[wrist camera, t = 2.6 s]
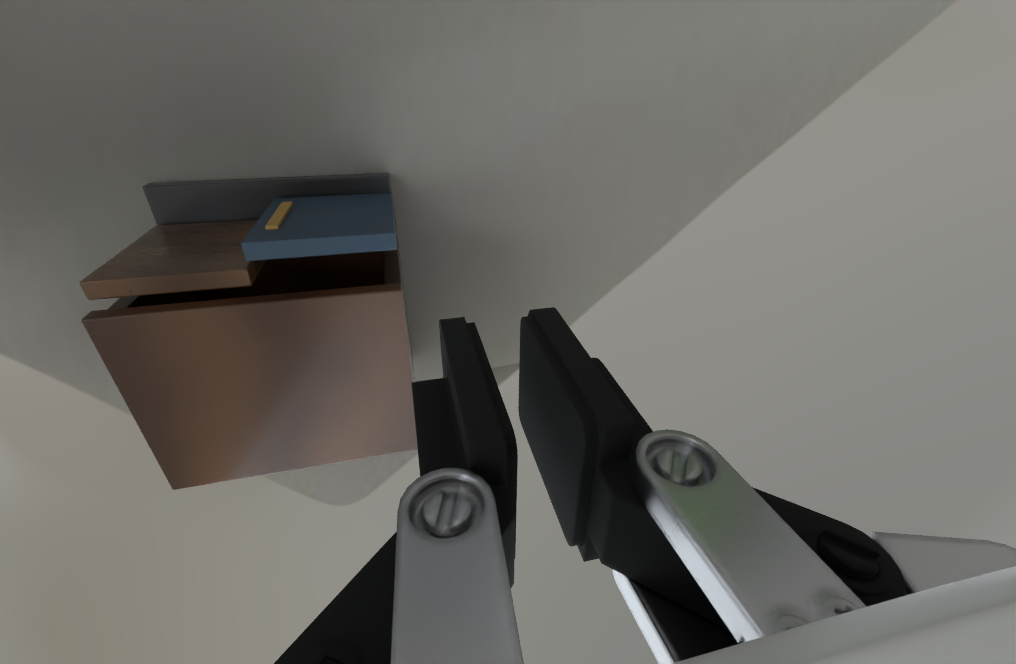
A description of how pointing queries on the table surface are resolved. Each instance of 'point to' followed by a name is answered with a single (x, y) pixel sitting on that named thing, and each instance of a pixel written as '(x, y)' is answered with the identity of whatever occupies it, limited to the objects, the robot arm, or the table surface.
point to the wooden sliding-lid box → (254, 337)
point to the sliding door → (323, 227)
